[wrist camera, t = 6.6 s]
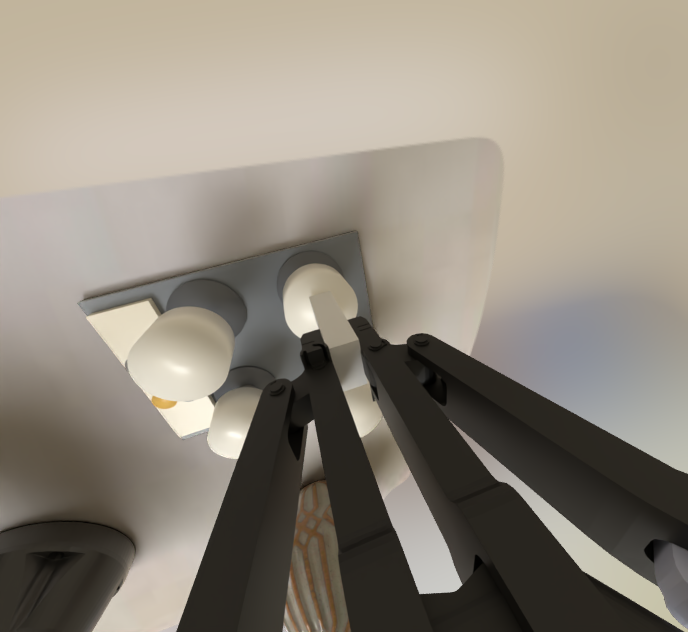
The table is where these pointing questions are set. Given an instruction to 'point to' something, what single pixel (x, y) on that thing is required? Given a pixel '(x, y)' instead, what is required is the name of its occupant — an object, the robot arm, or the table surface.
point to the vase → (315, 568)
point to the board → (229, 317)
